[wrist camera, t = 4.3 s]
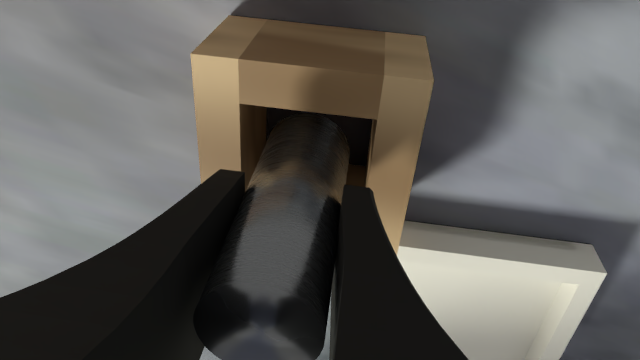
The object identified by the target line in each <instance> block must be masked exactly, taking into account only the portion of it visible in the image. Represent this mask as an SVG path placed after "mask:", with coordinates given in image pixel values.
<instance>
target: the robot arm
mask: <svg viewBox="0 0 640 360" xmlns="http://www.w3.org/2000/svg"><path fill="white" fill-rule="evenodd" d="M244 194H245V172H241V171H233V170H225V169H220V170H218V171H217V172H216V173H214V174H213V175H212V176H210V177H209V178H208V179H207V180H205V181H204V182H203V183H202V184H200V185H199V186H198V187H197V188H195V189H194V190H193V191H192V192H190V193H189V194H188V195H186V196H185V197H184V198H183V199H181V200H180V201H179V202H177V203H176V204H175V205H173V206H172V207H171V208H169V209H168V210H167V211H165V212H164V213H163V214H161V215H160V216H159V217H157V218H156V219H154V220H153V221H151V222H150V223H148V224H147V225H145V226H144V227H142V228H141V229H139V230H138V231H137V232H135V233H134V234H132V235H130V236H129V237H127V238H126V239H124V240H122V241H121V242H119V243H117V244H115V245H114V246H112V247H110V248H108V249H107V250H105V251H103V252H101V253H99V254H98V255H96V256H94V257H92V258H90V259H88V260H86V261H84V262H82V263H80V264H78V265H76V266H73V267H71V268H69V269H67V270H65V271H63V272H61V273H59V274H57V275H54V276H52V277H50V278H48V279H46V280H44V281H41V282H39V283H36V284H34V285H32V286H29V287H27V288H24V289H22V290H19V291H17V292H14V293H12V294H9V295H6V296H4V297H1V298H0V360H199V359H200V357H201V354H202V351H203V349H204V344H203V343H202V342H201V340H200V339H199V337H198V336H197V334H196V331H195V328H194V324H193V315H194V311H195V308H196V306H197V304H198V301H199V299H200V297H201V294H202V292H203V290H204V287H205V285H206V283H207V280H208V278H209V276H210V273H211V271H212V269H213V266H214V264H215V262H216V259H217V257H218V255H219V252H220V250H221V248H222V245H223V243H224V241H225V238H226V236H227V234H228V231H229V229H230V227H231V224H232V222H233V220H234V217H235V215H236V213H237V210H238V208H239V206H240V203H241V201H242V199H243V196H244ZM330 360H469V359H468V358H467V357H466V356H465V355H464V353H463V352H462V351H461V350H460V349H459V347H458V346H457V345H456V344H455V343H454V341H453V340H452V339H451V338H450V337H449V335H448V334H447V333H446V332H445V330H444V329H443V328H442V327H441V326H440V324H439V323H438V321H437V320H436V319H435V317H434V316H433V315H432V313H431V312H430V310H429V309H428V308H427V306H426V305H425V303H424V302H423V300H422V299H421V297H420V296H419V294H418V293H417V291H416V289H415V288H414V286H413V285H412V283H411V281H410V279H409V278H408V276H407V274H406V272H405V271H404V269H403V267H402V265H401V263H400V261H399V259H398V257H397V255H396V253H395V251H394V249H393V247H392V245H391V243H390V240H389V238H388V236H387V234H386V231H385V229H384V226H383V224H382V221H381V218H380V215H379V213H378V209H377V206H376V203H375V198H374V192H373V191H372V190H371V189H370V188H369V187H361V186H353V185H345V184H344V188H343V195H342V202H341V210H340V219H339V227H338V241H337V252H336V260H335V267H334V275H333V282H332V292H331V328H330Z"/></svg>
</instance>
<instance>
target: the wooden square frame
mask: <svg viewBox="0 0 640 360" xmlns="http://www.w3.org/2000/svg"><path fill="white" fill-rule="evenodd" d="M191 65H192V77H193V89H194V102H195V114H196V126H197V139H198V151H199V163H200V176H201V184H202V183H203V182H204V181H205V180H207V179H208V178H209V177H210V176H212V175H213V174H214V173H216V172H217V171H218V170H220V169H225V170H233V171H241V172H245V192H246V189H247V187H248V185H249V182H250V180H251V178H252V175H253V173H254V171H255V168H256V166H257V164H258V161H259V159H260V157H261V154H262V152H263V150H264V147H265V145H266V132H267V107H273V108H281V109H290V110H298V111H307V112H316V113H324V114H333V115H341V116H350V117H358V118H367V119H373V120H372V127H371V134H370V141H369V148H368V154H367V161H366V166H361V165H352V164H348V171H347V178H346V185H353V186H361V187H369V188H370V189H371V190H372V191H373V192H374V198H375V203H376V206H377V209H378V213H379V215H380V218H381V221H382V224H383V226H384V229H385V231H386V234H387V236H388V238H389V240H390V243H391V245H392V247H393V249H394V251H395V253H396V255H397V252H398V248H399V243H400V238H401V233H402V229H403V224H404V219H405V215H406V210H407V205H408V201H409V196H410V191H411V187H412V182H413V177H414V173H415V168H416V163H417V159H418V154H419V149H420V145H421V140H422V135H423V131H424V126H425V121H426V116H427V112H428V107H429V102H430V98H431V93H432V88H433V84H434V78H433V73H432V68H431V62H430V57H429V52H428V47H427V42H426V37H425V36H419V35H410V34H400V33H391V32H381V31H372V30H363V29H353V28H344V27H334V26H325V25H315V24H306V23H297V22H287V21H278V20H268V19H259V18H249V17H240V16H231V15H229V16H228V17H227V18H226V19H225V20H224V21H223V22H222V23H221V24H220V25H219V26H218V27H217V28H216V29H215V30H214V31H213V32H212V33H211V34H210V35H209V36H208V37H207V38H206V39H205V40H204V41H203V42H202V43H201V44H200V45H199V46H198V47H197V48H196V49H195V50H194V51H193V52H192V53H191Z"/></svg>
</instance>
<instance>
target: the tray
mask: <svg viewBox="0 0 640 360" xmlns="http://www.w3.org/2000/svg"><path fill="white" fill-rule="evenodd" d="M397 257H398V259H399V261H400V263H401V265H402V267H403V269H404V271H405V272H406V274H407V276H408V278H409V279H410V281H411V283H412V285H413V286H414V288H415V289H416V291H417V293H418V294H419V296H420V297H421V299H422V300H423V302H424V303H425V305H426V306H427V308H428V309H429V310H430V312H431V313H432V315H433V316H434V317H435V319H436V320H437V321H438V323H439V324H440V326H441V327H442V328H443V329H444V330H445V332H446V333H447V334H448V335H449V337H450V338H451V339H452V340H453V341H454V343H455V344H456V345H457V346H458V347H459V349H460V350H461V351H462V352H463V353H464V355H465V356H466V357H467V358H468V359H469V360H559V359H560V357H561V356H562V354H563V352H564V350H565V348H566V347H567V345H568V343H569V341H570V339H571V338H572V336H573V334H574V332H575V330H576V329H577V327H578V325H579V323H580V321H581V320H582V318H583V316H584V314H585V312H586V311H587V309H588V307H589V305H590V303H591V302H592V300H593V298H594V296H595V294H596V293H597V291H598V289H599V287H600V285H601V284H602V282H603V280H604V278H605V276H606V275H607V272H606V270H605V268H604V266H603V264H602V262H601V261H600V259H599V257H598V255H597V253H596V251H595V249H594V247H593V245H590V244H583V243H575V242H567V241H559V240H552V239H544V238H536V237H528V236H520V235H513V234H505V233H497V232H489V231H482V230H474V229H466V228H458V227H450V226H443V225H435V224H427V223H419V222H412V221H404V224H403V229H402V233H401V238H400V243H399V248H398V252H397Z"/></svg>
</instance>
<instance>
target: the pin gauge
mask: <svg viewBox="0 0 640 360" xmlns="http://www.w3.org/2000/svg"><path fill="white" fill-rule="evenodd" d="M349 156H350V148H349V143H348V140H347V138H346V136H345V134H344V133H343V131H342V130H341V129H340V128H339V127H338V126H337V125H336V124H335V123H334V122H332V121H331V120H329V119H327V118H325V117H323V116H320V115H317V114H311V113H300V114H294V115H291V116H288V117H286V118H284V119H283V120H281V121H280V122H279V123H278V124H277V125H276V126H275V127H274V128H273V130H272V131H271V133H270V136H269V138H268V140H267V143H266V145H265V147H264V150H263V152H262V154H261V157H260V159H259V161H258V164H257V166H256V168H255V171H254V173H253V175H252V178H251V180H250V182H249V185H248V187H247V189H246V192H245V194H244V196H243V199H242V201H241V203H240V206H239V208H238V210H237V213H236V215H235V217H234V220H233V222H232V224H231V227H230V229H229V231H228V234H227V236H226V238H225V241H224V243H223V245H222V248H221V250H220V252H219V255H218V257H217V259H216V262H215V264H214V266H213V269H212V271H211V273H210V276H209V278H208V280H207V283H206V285H205V287H204V290H203V292H202V294H201V297H200V299H199V301H198V304H197V306H196V308H195V311H194V315H193V324H194V328H195V331H196V334H197V336H198V337H199V339H200V340H201V342H202V343H203V344H204V346H205V347H206V348H207V349H208V350H209V351H211V352H212V353H213V354H214V355H216V356H217V357H218V358H220V359H222V360H315V359H316V358H317V357H318V356H319V355H320V353H321V351H322V349H323V346H324V341H325V334H326V326H327V319H328V312H329V304H330V297H331V289H332V282H333V275H334V267H335V260H336V252H337V241H338V227H339V219H340V210H341V202H342V195H343V188H344V184H345V185H346V178H347V171H348V164H349Z"/></svg>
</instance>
